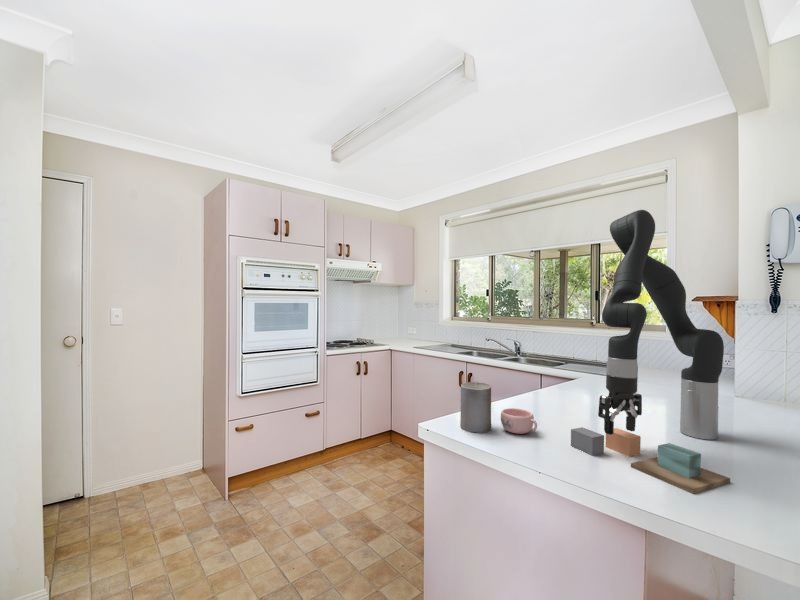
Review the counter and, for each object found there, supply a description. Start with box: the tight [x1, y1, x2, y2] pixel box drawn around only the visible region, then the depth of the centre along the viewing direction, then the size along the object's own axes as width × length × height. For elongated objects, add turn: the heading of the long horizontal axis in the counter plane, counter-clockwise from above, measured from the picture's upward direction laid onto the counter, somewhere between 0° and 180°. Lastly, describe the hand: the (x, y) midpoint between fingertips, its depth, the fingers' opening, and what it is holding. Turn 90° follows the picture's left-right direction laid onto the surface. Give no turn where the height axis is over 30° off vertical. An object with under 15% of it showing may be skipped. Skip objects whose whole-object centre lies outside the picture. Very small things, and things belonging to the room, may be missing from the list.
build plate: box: [630, 442, 731, 495], centre depth 91 cm, size 14×14×6 cm
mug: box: [500, 407, 538, 435], centre depth 118 cm, size 12×10×6 cm
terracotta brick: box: [605, 427, 642, 457], centre depth 105 cm, size 4×7×5 cm, turn 24°
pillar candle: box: [459, 381, 492, 434], centre depth 121 cm, size 10×10×15 cm
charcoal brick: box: [570, 427, 605, 457], centre depth 105 cm, size 4×7×5 cm, turn 24°
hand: (619, 432), depth 105 cm, fingers open, 8 cm apart
